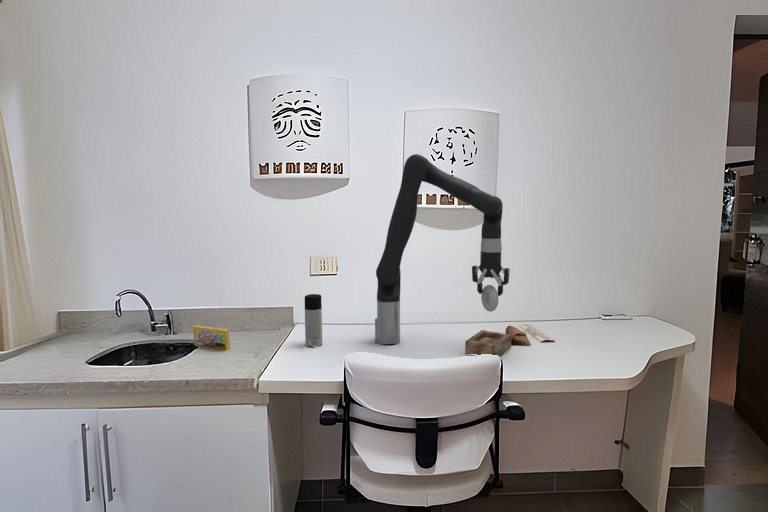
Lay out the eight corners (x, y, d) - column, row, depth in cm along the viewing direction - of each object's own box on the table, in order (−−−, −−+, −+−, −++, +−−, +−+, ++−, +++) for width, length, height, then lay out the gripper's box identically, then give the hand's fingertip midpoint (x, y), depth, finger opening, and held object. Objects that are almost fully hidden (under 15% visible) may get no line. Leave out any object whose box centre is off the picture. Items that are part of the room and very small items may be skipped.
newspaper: (555, 343, 180) (555, 339, 180) (538, 344, 180) (538, 340, 180) (531, 327, 204) (531, 323, 204) (516, 327, 203) (516, 324, 203)
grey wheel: (500, 314, 164) (500, 287, 163) (491, 314, 163) (491, 287, 162) (487, 307, 174) (488, 282, 173) (479, 308, 173) (479, 282, 172)
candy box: (193, 346, 177) (192, 326, 176) (197, 345, 179) (196, 324, 178) (226, 351, 171) (225, 330, 170) (230, 349, 173) (229, 328, 172)
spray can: (325, 343, 180) (324, 294, 177) (316, 348, 173) (315, 297, 171) (311, 341, 182) (310, 293, 180) (302, 346, 176) (300, 296, 174)
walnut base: (465, 354, 166) (465, 341, 166) (481, 342, 181) (481, 329, 180) (496, 360, 160) (497, 346, 159) (511, 347, 174) (511, 334, 174)
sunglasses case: (533, 346, 175) (524, 331, 175) (516, 354, 176) (508, 340, 176) (525, 333, 193) (517, 319, 192) (510, 340, 194) (502, 327, 194)
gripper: (468, 250, 166) (467, 294, 168) (506, 252, 159) (505, 298, 161) (476, 248, 173) (475, 290, 175) (513, 250, 165) (512, 294, 167)
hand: (489, 294), depth 168 cm, fingers closed on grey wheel, 7 cm apart
